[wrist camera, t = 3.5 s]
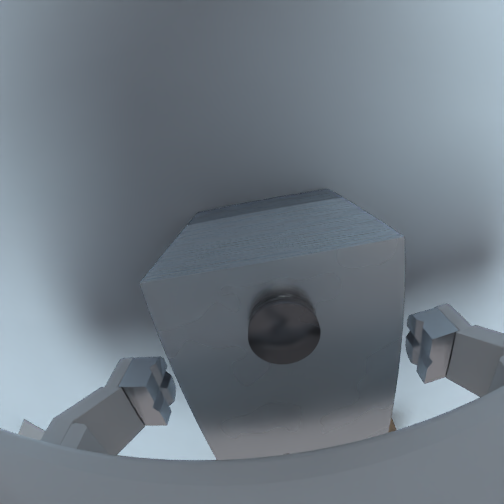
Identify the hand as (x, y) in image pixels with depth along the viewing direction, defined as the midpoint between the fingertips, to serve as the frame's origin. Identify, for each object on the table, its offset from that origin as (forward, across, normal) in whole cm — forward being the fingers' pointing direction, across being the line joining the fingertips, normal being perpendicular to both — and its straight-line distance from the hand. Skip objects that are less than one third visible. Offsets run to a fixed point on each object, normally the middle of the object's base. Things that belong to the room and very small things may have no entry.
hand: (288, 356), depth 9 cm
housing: (+3, 0, 0) cm, 3 cm away
